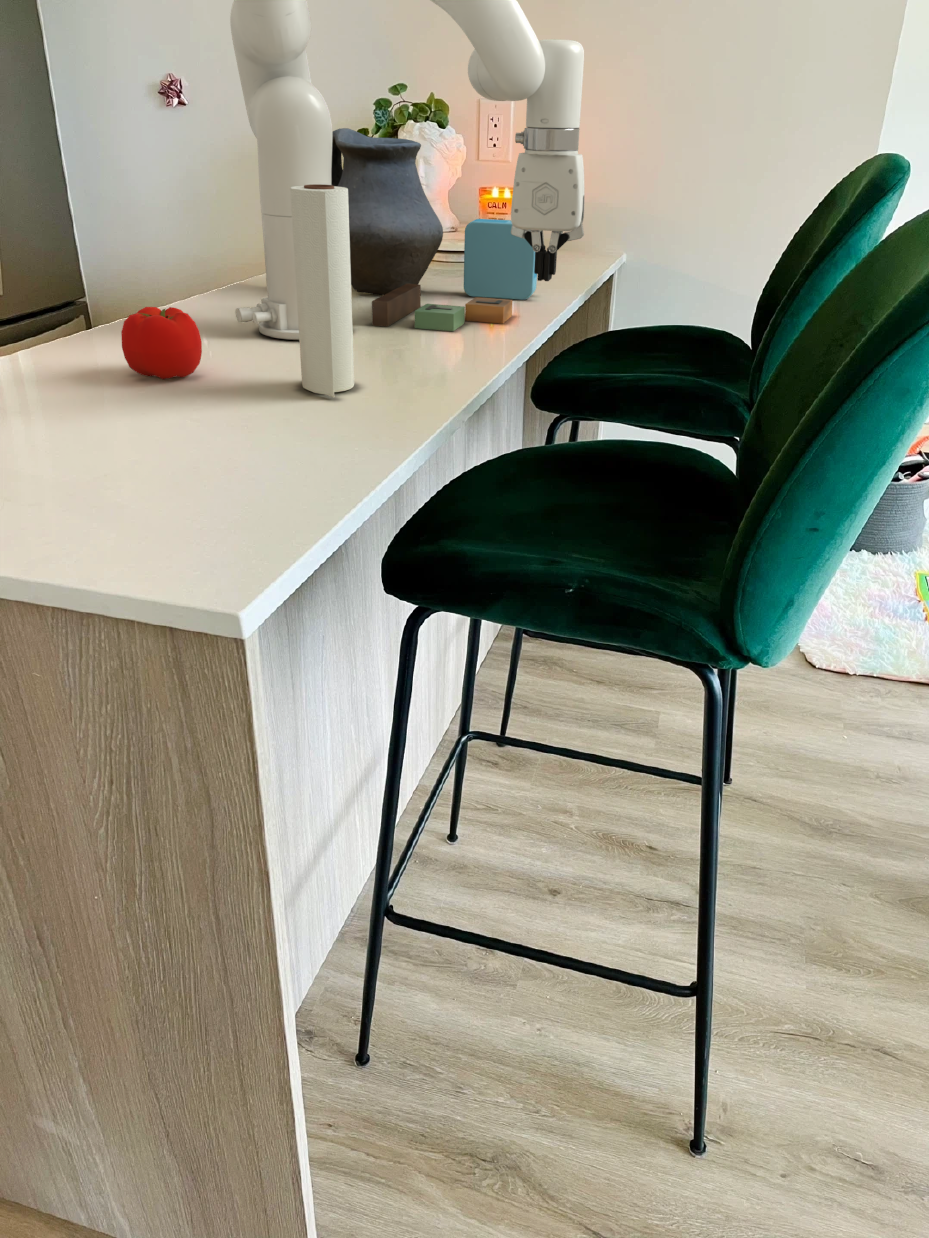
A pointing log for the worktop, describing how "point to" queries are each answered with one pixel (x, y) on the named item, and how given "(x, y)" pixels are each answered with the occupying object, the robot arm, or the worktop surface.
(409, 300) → the walnut ledge
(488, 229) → the blue rounded slab
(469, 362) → the worktop surface
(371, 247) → the pitcher
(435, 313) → the sage letter tile
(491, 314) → the oak letter tile
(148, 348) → the tomato
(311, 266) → the paper towel roll
